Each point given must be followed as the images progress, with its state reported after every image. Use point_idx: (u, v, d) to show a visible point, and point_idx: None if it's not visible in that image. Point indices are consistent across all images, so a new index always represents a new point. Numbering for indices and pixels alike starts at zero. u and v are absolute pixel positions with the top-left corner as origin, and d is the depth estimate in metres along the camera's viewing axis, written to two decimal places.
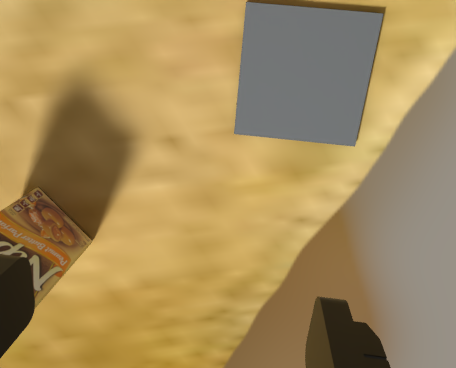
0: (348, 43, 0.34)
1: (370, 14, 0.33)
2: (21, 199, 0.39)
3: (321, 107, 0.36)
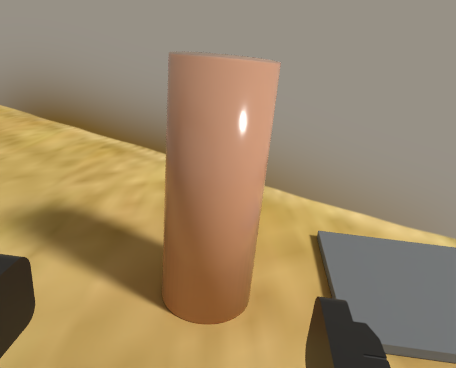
0: (357, 250, 0.29)
1: (322, 237, 0.30)
2: None
3: (444, 271, 0.27)
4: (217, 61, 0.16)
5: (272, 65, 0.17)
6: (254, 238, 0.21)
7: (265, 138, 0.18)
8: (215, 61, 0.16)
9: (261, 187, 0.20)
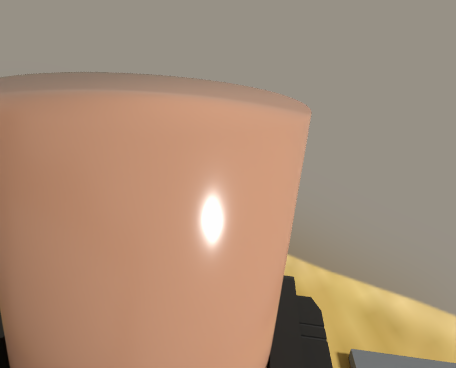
0: None
1: (359, 366, 0.18)
2: None
3: None
4: (79, 130, 0.04)
5: (290, 129, 0.05)
6: None
7: (267, 318, 0.07)
8: (70, 130, 0.04)
9: None
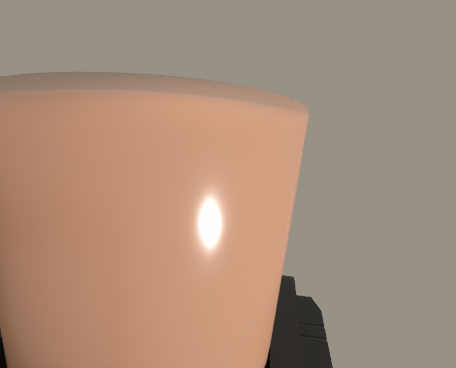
0: None
1: None
2: None
3: None
4: (74, 129, 0.04)
5: (287, 129, 0.05)
6: None
7: (265, 319, 0.06)
8: (65, 130, 0.04)
9: None
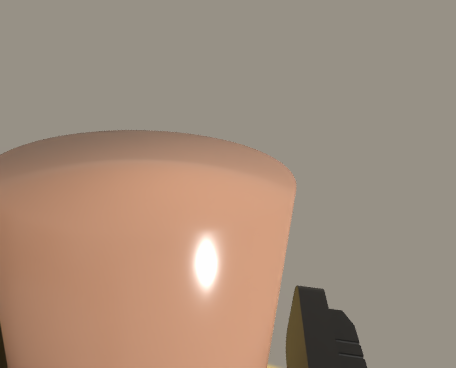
0: None
1: None
2: None
3: None
4: (83, 235, 0.04)
5: (274, 216, 0.06)
6: None
7: None
8: (75, 236, 0.04)
9: None
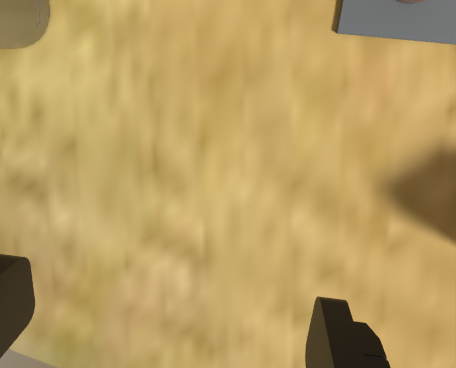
0: None
1: None
2: None
3: None
4: None
5: None
6: None
7: None
8: None
9: None
